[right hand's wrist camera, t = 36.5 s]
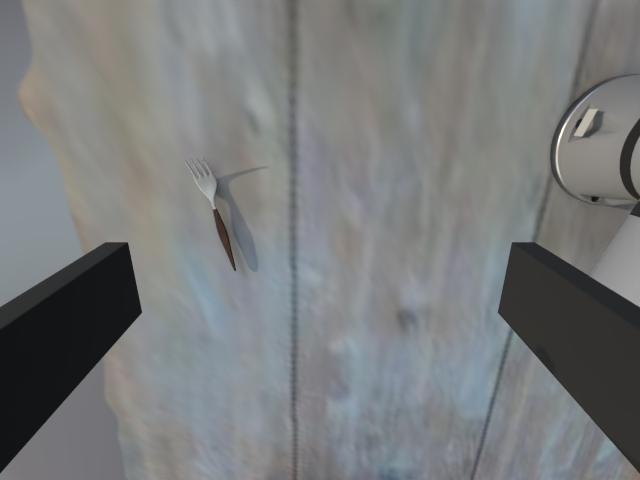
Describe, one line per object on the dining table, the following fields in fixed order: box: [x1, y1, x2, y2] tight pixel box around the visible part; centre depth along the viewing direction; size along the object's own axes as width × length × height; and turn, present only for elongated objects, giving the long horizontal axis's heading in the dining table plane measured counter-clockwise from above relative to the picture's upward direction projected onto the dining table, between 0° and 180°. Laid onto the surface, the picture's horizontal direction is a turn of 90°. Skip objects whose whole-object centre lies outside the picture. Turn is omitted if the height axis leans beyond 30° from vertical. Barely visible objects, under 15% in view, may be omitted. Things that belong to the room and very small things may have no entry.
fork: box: [185, 157, 236, 271], centre depth 46 cm, size 3×16×2 cm, turn 12°
